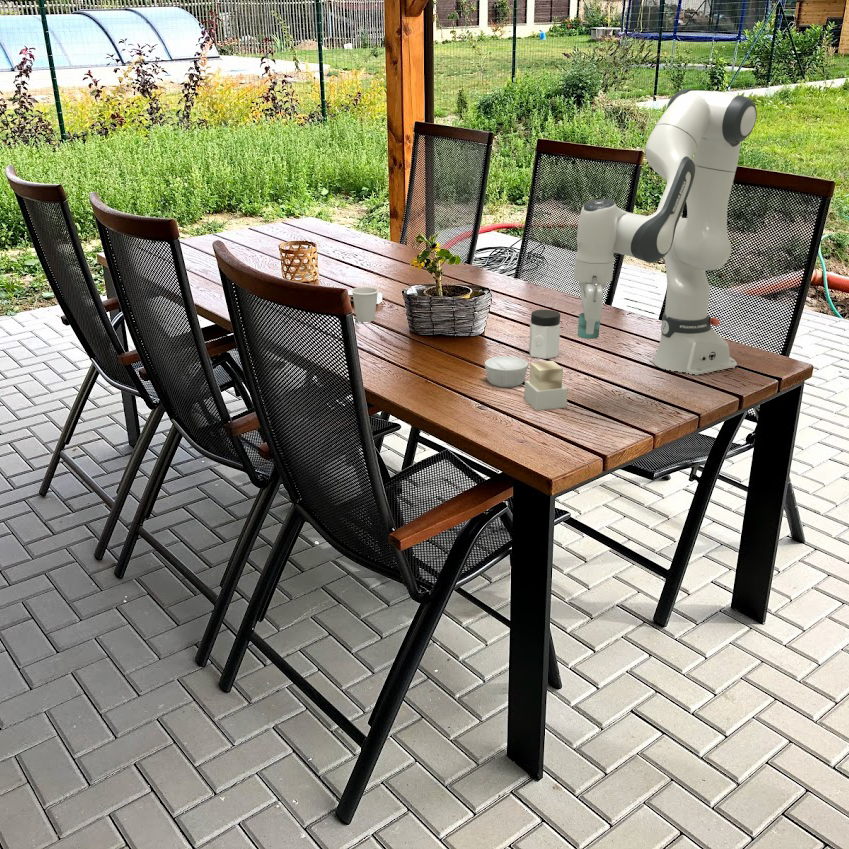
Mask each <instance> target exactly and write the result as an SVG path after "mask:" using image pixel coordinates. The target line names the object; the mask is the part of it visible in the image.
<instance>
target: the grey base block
mask: <svg viewBox="0 0 849 849" xmlns="http://www.w3.org/2000/svg"><path fill="white" fill-rule="evenodd" d="M568 390H569V389H568V388H567V386H565V385H564V383H562V388H556V389H547V390H538V389H537V388H536V387H534V386H533V385H532V384H531V383H530V382H529V380H524V391H523V392H524V394H523V399H524V400H525V401H526V402H527V403H528V404H529V405H530V406H531V407H532V408H533V409H534V410H535V411H543V410H554V409H560V408H561V409H562V408H567V406H568V393H569V392H568Z"/></svg>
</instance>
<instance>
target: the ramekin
mask: <svg viewBox="0 0 849 849" xmlns="http://www.w3.org/2000/svg"><path fill="white" fill-rule="evenodd" d="M484 368H485V372H486V378H487V381H488V382H489V384H491V385H493V386H496V387H499V388H501V387H502V388H512V387H518V386H520V385H522V384H524V383H525V381H526V375H527V371H528V368H529V362H528V361H527V360H526V359H524V358H521V357H518V356H511V355H509V356H507V355H500V356H493V357H490V358H488V359H487V360H485V361H484Z"/></svg>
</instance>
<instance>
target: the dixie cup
mask: <svg viewBox="0 0 849 849" xmlns="http://www.w3.org/2000/svg"><path fill="white" fill-rule="evenodd" d="M351 293H352V298H353V306H354V313H355V320H356V319H357V320H356V322H357V321H359V322H371V321H374V320H375V321H376V310H377V302H378V301H377V300H378V293H379V289H377V288H376V287H371V286H361V287H358V286H357V287H355V288H352V289H351ZM375 321H374V322H375Z"/></svg>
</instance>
